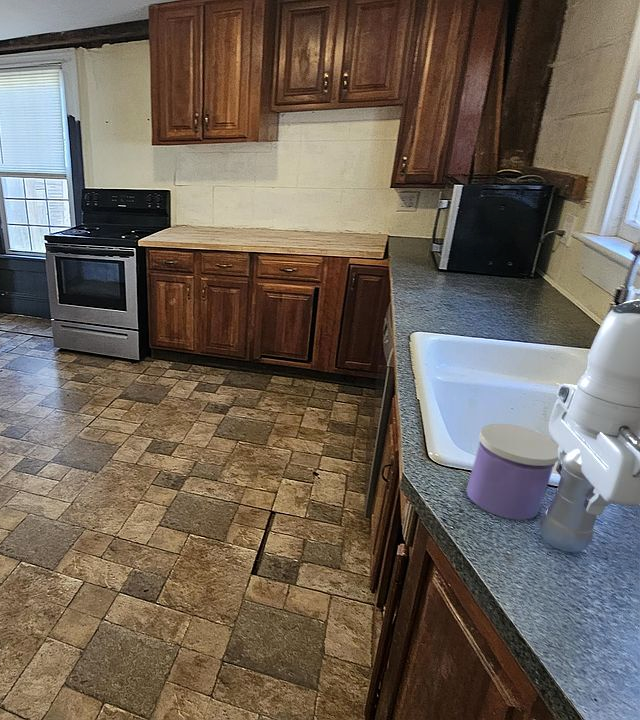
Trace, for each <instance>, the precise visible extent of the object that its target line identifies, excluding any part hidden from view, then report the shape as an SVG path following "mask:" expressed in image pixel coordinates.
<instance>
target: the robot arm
mask: <svg viewBox="0 0 640 720" xmlns="http://www.w3.org/2000/svg"><path fill="white" fill-rule="evenodd" d="M556 396H557V399H556V401H555V402H554V405H553V408H552V411H551V414H550V418H549V422H548V433H549V435H550V436H551V437H552V439H553V441H555V442H556V443H557V444H558V445H559V448H558V462H557V465H556V466H555V471H556V472H557V474H558V475H559V476H560V477H561V471H562V465H563V460H564V457H565V455H566V454H567V453H568V452H569V451H570V450H572V449H578V450H579V452H580V455H581V471H582V473H583V474H584V476H585V477H586V478H587V479H588V480H589V482H590V483H591V484H592V485H593V486H594V491H593V493H594V494H595V495H594V496H593V497H592V498H587V497H586V499H585V503H584V504H583V506H584V508H585V509H586V511H587V512H588V513H589V514H593V515H597V516H600V515H602V514H603V513H604V510H605V508H606V507H607V506H609V505H610V504H614V505H617V506H618V505H619V506H624V507H625V506H626V507H635V506H637V505H639V504H640V438H639V437H640V299H633V300H628V301H624V302H622V303H619V304H617V305H616V306H614V307H613V308H612V309H611V310H610V311H609V312H608V313H607V315H606V316H605V318H604V320H603V321H602V323H601V324H600V326H599V329H598V331H597V333H596V335H595V337H594V339H593V342H592V344H591V347H590V349H589V352H588V354H587V366H586V370H585V372H584V374H583V375H582V376H581V377H580V379H578V382H577V384H572V383H571V384H570V383H569V384H568V383H560V384H558V387H557V389H556ZM583 439H584V440H585V441H586V443H584V442H583Z"/></svg>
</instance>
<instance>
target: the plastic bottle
mask: <svg viewBox="0 0 640 720" xmlns="http://www.w3.org/2000/svg"><path fill="white" fill-rule="evenodd" d="M583 442H584V443H586V441H585V440H584V439H583ZM593 491H594V486H593V485H592V484H591V483H590V482H589V480H588V479H587V478H586V477H585V476H584V474H583V473H582V471H581V455H580V452H579V450H578V449H572V450H570V451H569V452H568V453H567V454H566V455H565V457H564V460H563V465H562V471H561V476H560V478H559V482H558V485H557V488H556V492H555V494H554V496H553V498H552V500H551V502H550V504H549V506H548V507H547V509H546V510H545V511H544V513H543V515H542V516H541V518H540V519H539V523H538V524H539V525H538V532H539V534H540V536H541V539H543V540H544V541H545V542H546V543H547V544H548V545H550V546H552V547H554V548H555V549H558V550H561V551H564V552H568V553H578V552H579V553H580V552H583V551H584V550H586V549H587V548H588V547H589V545H590V544H591V543H592V541H593V537H594V532H595V524H596V520H597V517H598V515H593V514H589V513H588V512H587V511H586V509H585V508H584V506H583V504H584V503H585V499H586V497H587V498H592V497H593V496H594V495H595V494H594V493H593Z"/></svg>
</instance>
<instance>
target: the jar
mask: <svg viewBox="0 0 640 720" xmlns="http://www.w3.org/2000/svg"><path fill="white" fill-rule="evenodd" d="M478 438H479V443H478V446H477V450H476V453H475V456H474V461H473V464H472V467H471V471H470V475H469V478H468V482H467V485H466V490H465V491H466V494H467V496H468V498H469V500H470V501H471V502H473V503H474V504H475V505H476V506H477V507H479V508H481V509H482V510H484V511H486V512H488V513H491V514H492V515H495V516H498V517H501V518H504V519H510V520H516V521H526V520H531V519H533V518H535V517H536V516H537V515H538V514H539V511H540V508H541V505H542V502H543V499H544V496H545V494H546V490H547V488H548V486H549V482H550V479H551V478H552V477H551V476H552V473H553V471H554V468H555V466H556V464H557V463H558V448H559V444H558V443H557V442H556V441H555V440H554V439H553V438H550V437H549V436H547V435H545V434H543V433H541V432H539V431H537V430H533V429H531V428H527V427H524V426H521V425H515V424H509V423H491V424H486V425H484V426H483V427H482V428H481V429H480V432H479V436H478Z"/></svg>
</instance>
